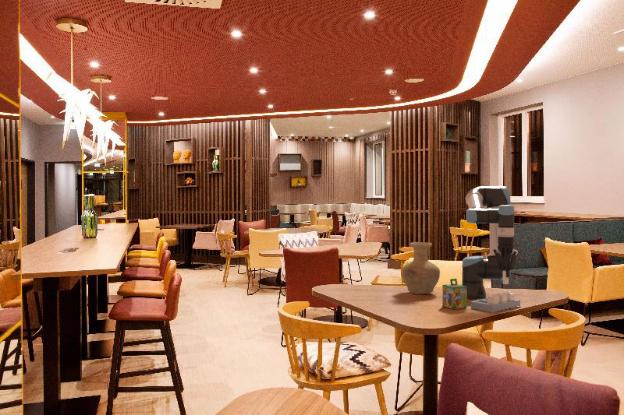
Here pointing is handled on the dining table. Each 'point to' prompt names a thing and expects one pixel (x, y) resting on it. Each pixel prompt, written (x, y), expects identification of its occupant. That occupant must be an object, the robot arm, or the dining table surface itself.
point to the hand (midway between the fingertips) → (505, 283)
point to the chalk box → (454, 295)
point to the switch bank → (492, 308)
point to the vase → (420, 271)
